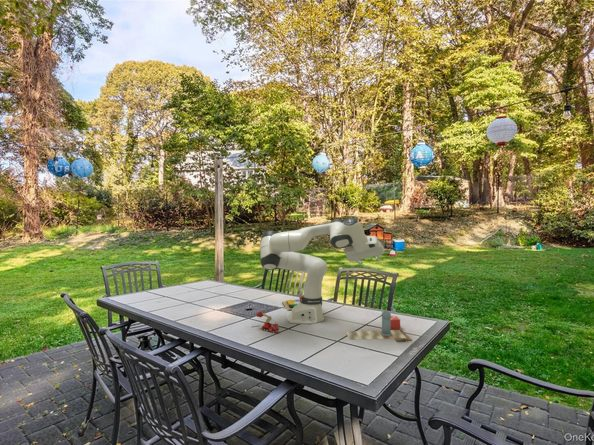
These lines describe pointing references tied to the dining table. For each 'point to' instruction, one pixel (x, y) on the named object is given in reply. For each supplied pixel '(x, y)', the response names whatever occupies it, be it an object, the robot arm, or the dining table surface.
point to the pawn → (386, 323)
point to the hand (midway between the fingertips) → (369, 262)
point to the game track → (396, 335)
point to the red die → (394, 323)
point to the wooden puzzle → (290, 304)
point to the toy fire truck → (268, 324)
